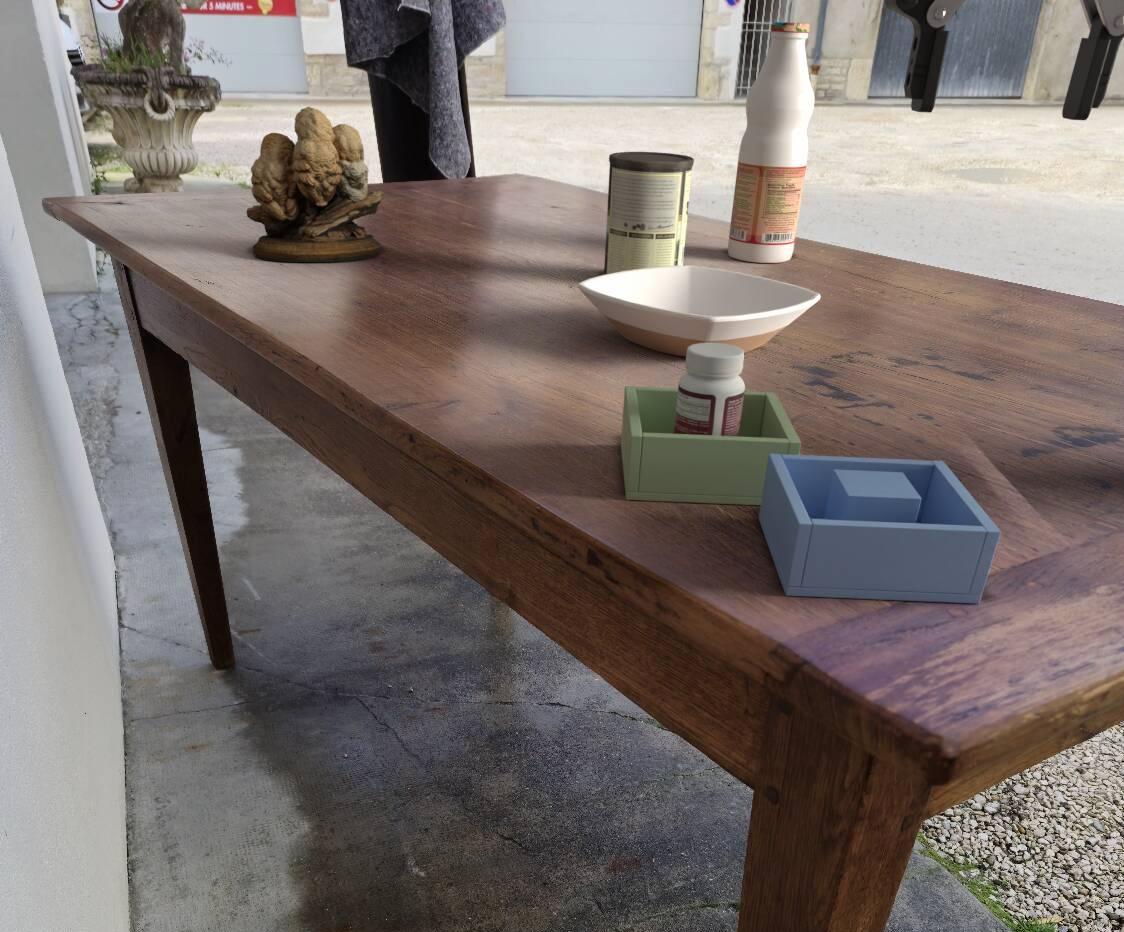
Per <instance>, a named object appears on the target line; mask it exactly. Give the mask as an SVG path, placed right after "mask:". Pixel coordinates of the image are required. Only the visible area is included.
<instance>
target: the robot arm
mask: <svg viewBox="0 0 1124 932" xmlns="http://www.w3.org/2000/svg"><path fill="white" fill-rule="evenodd" d="M965 2H966V0H884V5H885V7H886V8H887V10H889V11H891V12H895V13H897V14H898V15H900V16H902V17H904V18H906V19H908V20H909V21H910V23H911V24H912V27H913V37H912V41H911V46H910V52H909V57H908V62H907V67H906V74H905V78H904V83H903V91H904V97H905V98H907V99H910V100H911V102H910V103H911V104H910V109H911V111H913V112H917V113H932V112H933V110H934V107H935V104H936V100H937V95H938V89H939V85H940V81H941V76H942V71H943V65H944V62H945V57H946V52H947V47H948V42H949V37H950V32H951V30H946V24H947V23H948V22H949V20H951V18H952V17H953V16H954V15H955V13H956V12H957V11H958V10H959V9H960V7H961V6H962V5H963V4H964V3H965ZM1079 3H1080V5H1081V8H1082V11H1083V14H1084V17H1085V20H1086V23H1087V26H1088V29H1089V33H1088V36H1087V37H1081V39H1080V43H1079V45H1078V46H1079V47H1078V51H1077V54H1076V58H1075V62H1074V65H1073V69H1072V73H1071V77H1070V80H1069V84H1068V88H1067V90H1066V95H1065V99H1064V103H1063V106H1062V111H1061V115H1062V119H1067V120H1070V121H1087V119H1089V117H1090V115H1091V112H1092V109H1099V107H1100V105H1101V104H1102V102H1103V101H1104V99H1105V97H1106V93H1107V90H1108V86H1109V83H1110V80H1111V75H1112V73H1113V69H1114V65H1115V63H1116V59H1117V55H1118V52H1119V50H1120V49H1119V48H1120V46H1121V43H1122V41H1123V39H1124V0H1079Z"/></svg>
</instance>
